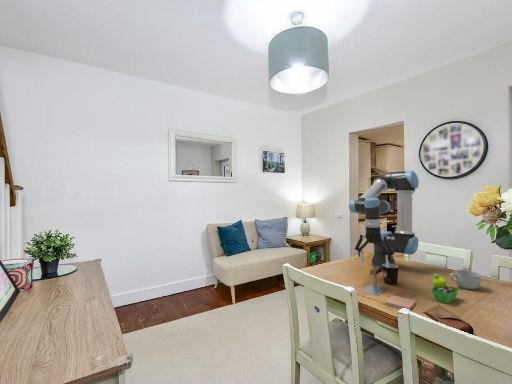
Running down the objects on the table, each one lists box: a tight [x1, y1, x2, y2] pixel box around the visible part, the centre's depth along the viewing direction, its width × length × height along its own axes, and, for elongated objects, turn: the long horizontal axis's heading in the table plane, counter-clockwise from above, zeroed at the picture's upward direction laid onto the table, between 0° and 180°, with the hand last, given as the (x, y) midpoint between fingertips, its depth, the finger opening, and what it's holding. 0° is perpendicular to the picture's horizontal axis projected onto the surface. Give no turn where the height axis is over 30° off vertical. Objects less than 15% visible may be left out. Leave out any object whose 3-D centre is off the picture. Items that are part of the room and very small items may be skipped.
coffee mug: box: [380, 263, 400, 286], centre depth 147 cm, size 12×9×10 cm
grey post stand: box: [360, 266, 386, 297], centre depth 137 cm, size 16×8×11 cm, turn 137°
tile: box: [384, 294, 417, 311], centre depth 119 cm, size 2×10×10 cm
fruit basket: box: [430, 273, 459, 304], centre depth 123 cm, size 11×9×11 cm
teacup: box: [449, 268, 482, 291], centre depth 136 cm, size 14×11×8 cm
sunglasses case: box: [422, 303, 474, 335], centre depth 102 cm, size 18×7×7 cm, turn 179°
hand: (374, 264), depth 142 cm, fingers open, 13 cm apart
